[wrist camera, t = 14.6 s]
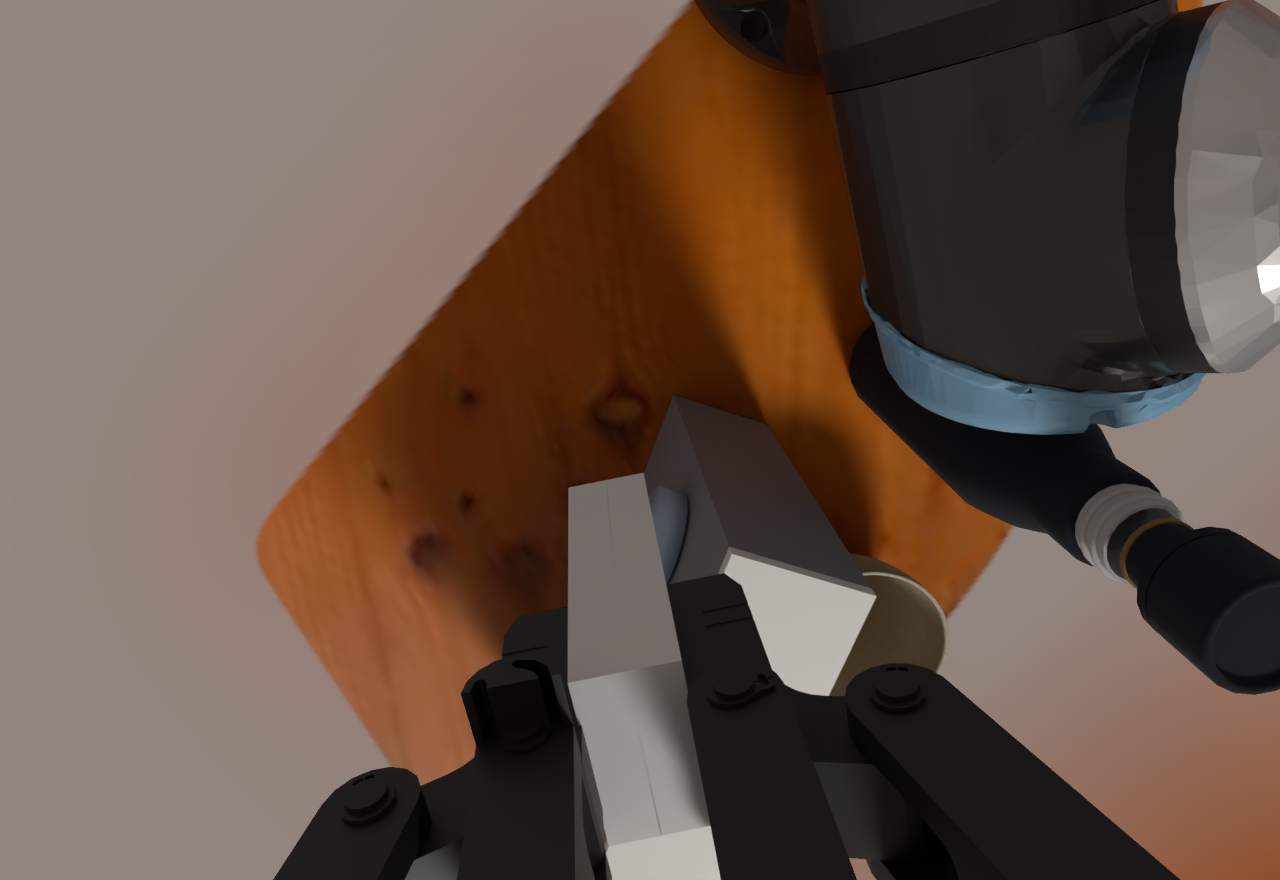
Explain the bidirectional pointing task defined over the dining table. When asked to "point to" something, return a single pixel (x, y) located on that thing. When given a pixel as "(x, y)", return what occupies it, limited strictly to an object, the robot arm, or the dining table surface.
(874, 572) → the flower pot
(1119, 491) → the wine bottle
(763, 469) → the control panel
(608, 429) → the dining table surface
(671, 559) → the slate button
